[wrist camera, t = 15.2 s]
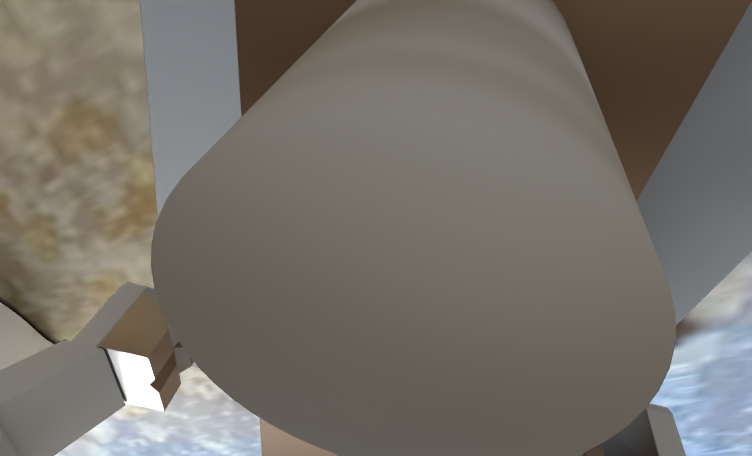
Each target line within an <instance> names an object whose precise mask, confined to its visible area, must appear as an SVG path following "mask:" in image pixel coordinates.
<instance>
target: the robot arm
mask: <svg viewBox="0 0 752 456" xmlns="http://www.w3.org/2000/svg"><path fill="white" fill-rule="evenodd" d="M193 363H194V361H193V360H192V359H191V357H190V356H189V355H188V354H187V352H186V351H185V350H184V349H183V347H182V346H181V344H180V342H179V341H178V339H177V338H176V336H175V335H174V333H173V332H172V330H171V328H170V326H169V324H168V322H167V320H166V318H165V316H164V314H163V312H162V310H161V306H160V303H159V300H158V297H157V294H156V291H155V289H153V288H150V287H145V286H141V285H137V284H133V283H129V282H128V283H126V284H124V285H122V286H120V287H119V288H118V289H117V290H116V292H115V293H114V294H113V295H112V296H111V297H110V298H109V299H108V301H107V302H106V303H105V304H104V305H103V306H102V307H101V309H100V310H99V311H98V312H97V313H96V314H95V315H94V316H93V318H92V319H91V320H90V321H89V322H88V323H87V324H86V325H85V327H84V328H83V329H82V330H81V331H80V332H79V333H78V335H77V336H76V337H75V338H74V339H73V340H72V341H69V340H63V341H61V342H59V343H57V344H55V345H54V344H53V343H51V342H50V341H48V340H46V339H45V338H44V337H42V336H41V335H40V334H39V333H38V332H37V331H36V330H34V329H33V328H32V327H31V326H30V325H29V324H28V323H27V322H26V321H25V320H23V319H22V318H21V317H20V316H19V315H17V314H16V313H15V312H13V311H12V310H11V309H9V308H8V307H6V306H5V305H3V304H2V303H0V456H54V455H55V454H57V453H58V452H60V451H61V450H63V449H64V448H65V447H67V446H68V445H70V444H71V443H72V442H74V441H75V440H77V439H78V438H80V437H81V436H82V435H84V434H85V433H87V432H88V431H89V430H91V429H92V428H94V427H95V426H96V425H98V424H99V423H101V422H102V421H104V420H105V419H106V418H108V417H109V416H111V415H112V414H113V413H115V412H116V411H118V410H119V409H121V408H122V407H123V406H125V403H129V404H134V405H138V406H143V407H147V408H152V409H156V410H161V411H165V409H166V408H167V406H168V404H169V403H170V401H171V399H172V398H173V396H174V394H175V393H176V391H177V389H178V388H179V386H180V384H181V381H180V374H179V373H180V372H182V371H184V370H185V369H187V368H189V367H191V366H192V364H193ZM576 456H686V454H685V451H684V448H683V445H682V442H681V439H680V436H679V433H678V430H677V427H676V424H675V421H674V418H673V414H672V413H671V412H670V410H669V409H668V408H666V407H662V406H658V405H653V404H648V406H647V407H646V408H645V410H644V411H643V412H642V413H641V414H639V415H638V416H637V417H636V418H635V419H634V420H633V421H632V422H631V423H630V424H629V425H628V426H627V427H625V428H624V429H623V430H621V431H620V432H618V433H617V434H615V435H614V436H613V437H611V438H610V439H608V440H607V441H605V442H603V443H601V444H599V445H597V446H596V447H594V448H592V449H590V450H588V451H586V452H584V453H581V454H579V455H576Z"/></svg>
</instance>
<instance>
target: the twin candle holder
mask: <svg viewBox="0 0 752 456" xmlns="http://www.w3.org/2000/svg"><path fill="white" fill-rule="evenodd" d="M751 2H752V0H234V5H235V21H236V38H237V54H238V70H239V87H240V103H241V118H240V119H239V120H238V121H237V122H236V123H235V124H234V125H233V126H232V127H231V128H230V129H229V130H228V131H227V132H226V133H225V134H224V135H223V136H222V137H221V138H220V139H219V140H218V141H217V142H216V143H215V144H214V145H213V146H212V147H211V148H210V149H209V150H208V151H207V152H206V153H205V154H204V155H203V156H202V157H201V158H200V159H199V160H198V161H197V162H196V163H195V164H194V165H193V166H192V168H191V169H190V170H189V171H188V172H187V173H186V174H185V175H184V176H183V177H182V178H181V179H180V181H179V182H178V183H177V185H176V186H175V188H174V189H173V190H172V192H171V193H170V195H169V196H168V197H167V199H166V201H165V203H164V206H163V208H162V210H161V212H160V215H159V217H158V219H157V221H156V226H155V231H154V235H153V240H152V250H151V269H152V275H153V281H154V287H155V291H156V294H157V297H158V300H159V303H160V306H161V310H162V312H163V314H164V316H165V318H166V320H167V322H168V324H169V326H170V328H171V330H172V332H173V333H174V335H175V336H176V338H177V339H178V341H179V342H180V344H181V346H182V347H183V349H184V350H185V351H186V352H187V354H188V355H189V356H190V357H191V359H192V360H193V361H194V362H195V363H196V365H197V366H198V367H199V368H200V369H201V370H202V371H203V372H204V373H205V374H206V375H207V376H208V377H209V378H210V379H211V380H212V381H213V382H214V383H215V384H216V385H217V386H218V387H219V388H221V389H222V390H223V391H224V392H225V393H226V394H228V395H229V396H230V397H231V398H232V399H234V400H235V401H236V402H238V403H239V404H241V405H242V406H243V407H245V408H246V409H247V410H249V411H250V412H252V413H253V414H255V415H256V416H258V417H260V432H261V448H262V456H576V455H579V454H581V453H584V452H586V451H588V450H590V449H592V448H594V447H596V446H597V445H599V444H601V443H603V442H605V441H607V440H608V439H610V438H611V437H613V436H614V435H615V434H617V433H618V432H620V431H621V430H623V429H624V428H625V427H627V426H628V425H629V424H630V423H631V422H632V421H633V420H634V419H635V418H636V417H637V416H638V415H639V414H641V413H642V412H643V411H644V410H645V408H646V407H647V406H648V404H649V403H650V402H651V400H652V399H653V398H654V396H655V395H656V394H657V392H658V391H659V389H660V387H661V385H662V383H663V381H664V379H665V377H666V374H667V372H668V370H669V368H670V364H671V360H672V356H673V351H674V347H675V341H676V315H675V310H674V305H673V300H672V296H671V291H670V287H669V284H668V281H667V279H666V276H665V274H664V271H663V269H662V266H661V263H660V261H659V258H658V256H657V253H656V251H655V248H654V245H653V243H652V240H651V238H650V235H649V233H648V230H647V227H646V225H645V222H644V220H643V217H642V215H641V212H640V209H639V207H638V204H637V202H636V201H637V200H638V198H639V196H640V194H641V193H642V191H643V189H644V187H645V186H646V184H647V182H648V180H649V179H650V177H651V175H652V174H653V172H654V170H655V168H656V167H657V165H658V163H659V161H660V160H661V158H662V156H663V154H664V153H665V151H666V149H667V147H668V146H669V144H670V142H671V141H672V139H673V137H674V135H675V134H676V132H677V130H678V128H679V127H680V125H681V123H682V121H683V120H684V118H685V116H686V114H687V113H688V111H689V109H690V108H691V106H692V104H693V102H694V101H695V99H696V97H697V95H698V94H699V92H700V90H701V88H702V87H703V85H704V83H705V81H706V80H707V78H708V76H709V75H710V73H711V71H712V69H713V68H714V66H715V64H716V62H717V61H718V59H719V57H720V55H721V54H722V52H723V50H724V49H725V47H726V45H727V43H728V42H729V40H730V38H731V36H732V35H733V33H734V31H735V29H736V28H737V26H738V24H739V22H740V21H741V19H742V17H743V16H744V14H745V12H746V10H747V9H748V7H749V5H750V3H751Z"/></svg>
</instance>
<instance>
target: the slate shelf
mask: <svg viewBox="0 0 752 456" xmlns="http://www.w3.org/2000/svg"><path fill="white" fill-rule="evenodd" d="M140 9H141V21H142V33H143V45H144V57H145V69H146V81H147V94H148V106H149V118H150V130H151V142H152V154H153V166H154V178H155V190H156V202H157V214H158V217H159V215H160V212H161V210H162V208H163V206H164V203H165V201H166V199H167V197H168V196H169V195H170V193H171V192H172V190H173V189H174V188H175V186H176V185H177V183H178V182H179V181H180V179H181V178H182V177H183V176H184V175H185V174H186V173H187V172H188V171H189V170H190V169H191V168H192V166H193V165H194V164H195V163H196V162H197V161H198V160H199V159H200V158H201V157H202V156H203V155H204V154H205V153H206V152H207V151H208V150H209V149H210V148H211V147H212V146H213V145H214V144H215V143H216V142H217V141H218V140H219V139H220V138H221V137H222V136H223V135H224V134H225V133H226V132H227V131H228V130H229V129H230V128H231V127H232V126H233V125H234V124H235V123H236V122H237V121H238V120H239V119H240V118H241V103H240V87H239V70H238V54H237V38H236V21H235V5H234V0H140ZM636 202H637V204H638V207H639V209H640V212H641V215H642V217H643V220H644V222H645V225H646V227H647V230H648V233H649V235H650V238H651V240H652V243H653V245H654V248H655V251H656V253H657V256H658V258H659V261H660V263H661V266H662V269H663V271H664V274H665V276H666V279H667V281H668V284H669V287H670V291H671V296H672V300H673V305H674V310H675V315H676V325H677V324H678V323H679V322H680V321H681V320H682V319H683V318H684V317H685V316H686V315H687V314H688V313H689V312H690V311H691V310H692V309H693V308H694V307H695V306H696V305H697V304H698V303H699V302H700V301H701V300H702V299H703V298H704V297H705V296H706V295H707V294H708V293H709V292H710V291H711V290H712V289H713V288H714V287H715V286H716V285H717V284H718V283H719V282H720V281H721V280H723V279H724V278H725V277H726V276H727V275H728V274H729V273H730V272H731V271H732V270H733V269H734V268H735V267H736V266H737V265H738V264H739V263H740V262H741V261H742V260H743V259H744V258H745V257H746V256H747V255H748V254H749V253H750V252H751V251H752V2H751V3H750V5H749V7H748V9H747V10H746V12H745V14H744V16H743V17H742V19H741V21H740V22H739V24H738V26H737V28H736V29H735V31H734V33H733V35H732V36H731V38H730V40H729V42H728V43H727V45H726V47H725V49H724V50H723V52H722V54H721V55H720V57H719V59H718V61H717V62H716V64H715V66H714V68H713V69H712V71H711V73H710V75H709V76H708V78H707V80H706V81H705V83H704V85H703V87H702V88H701V90H700V92H699V94H698V95H697V97H696V99H695V101H694V102H693V104H692V106H691V108H690V109H689V111H688V113H687V114H686V116H685V118H684V120H683V121H682V123H681V125H680V127H679V128H678V130H677V132H676V134H675V135H674V137H673V139H672V141H671V142H670V144H669V146H668V147H667V149H666V151H665V153H664V154H663V156H662V158H661V160H660V161H659V163H658V165H657V167H656V168H655V170H654V172H653V174H652V175H651V177H650V179H649V180H648V182H647V184H646V186H645V187H644V189H643V191H642V193H641V194H640V196H639V198H638V200H637V201H636ZM192 366H195V367H198V366H197V365H196V363H195V362H194V363H193V364H192ZM198 368H199V367H198Z"/></svg>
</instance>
